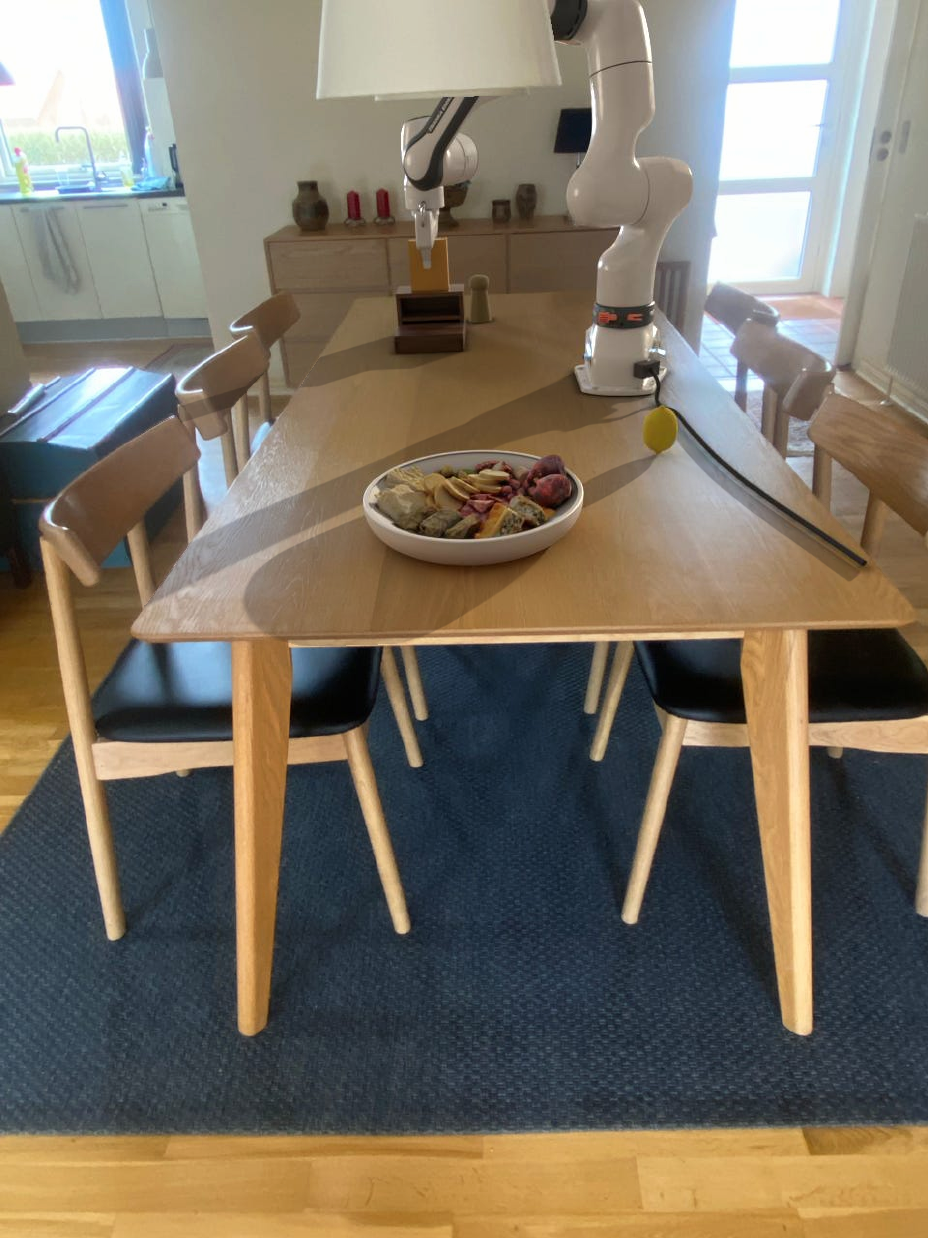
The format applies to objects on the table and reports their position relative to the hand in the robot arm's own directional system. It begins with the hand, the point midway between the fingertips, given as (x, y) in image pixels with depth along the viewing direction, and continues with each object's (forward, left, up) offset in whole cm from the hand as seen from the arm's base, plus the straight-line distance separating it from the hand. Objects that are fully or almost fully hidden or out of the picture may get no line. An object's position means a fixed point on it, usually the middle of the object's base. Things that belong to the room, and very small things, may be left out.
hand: (428, 264), depth 195 cm
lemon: (-73, -55, -17) cm, 93 cm away
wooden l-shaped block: (-5, -1, -16) cm, 17 cm away
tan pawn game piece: (+16, -9, -17) cm, 24 cm away
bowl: (-101, -30, -17) cm, 107 cm away
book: (0, 0, -5) cm, 5 cm away
